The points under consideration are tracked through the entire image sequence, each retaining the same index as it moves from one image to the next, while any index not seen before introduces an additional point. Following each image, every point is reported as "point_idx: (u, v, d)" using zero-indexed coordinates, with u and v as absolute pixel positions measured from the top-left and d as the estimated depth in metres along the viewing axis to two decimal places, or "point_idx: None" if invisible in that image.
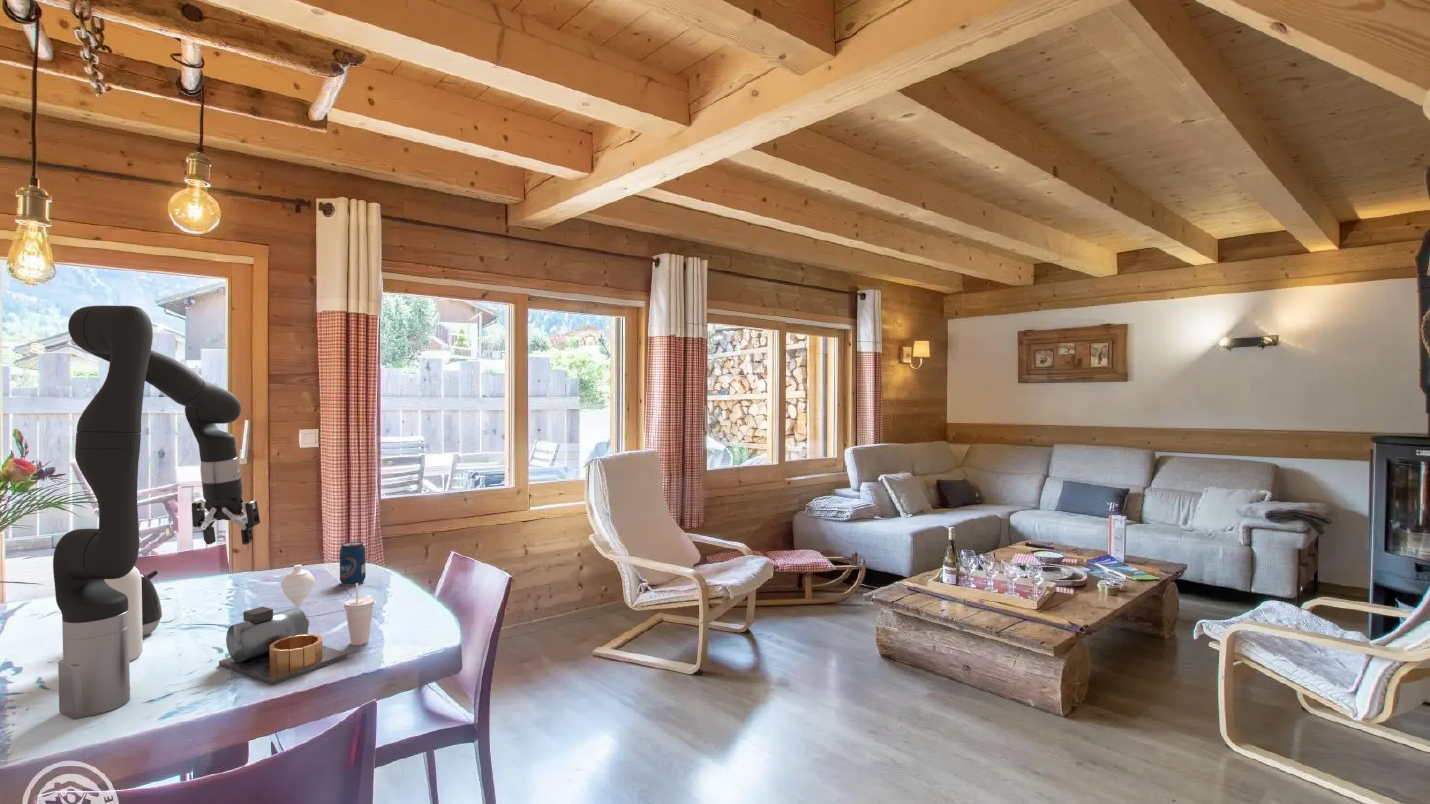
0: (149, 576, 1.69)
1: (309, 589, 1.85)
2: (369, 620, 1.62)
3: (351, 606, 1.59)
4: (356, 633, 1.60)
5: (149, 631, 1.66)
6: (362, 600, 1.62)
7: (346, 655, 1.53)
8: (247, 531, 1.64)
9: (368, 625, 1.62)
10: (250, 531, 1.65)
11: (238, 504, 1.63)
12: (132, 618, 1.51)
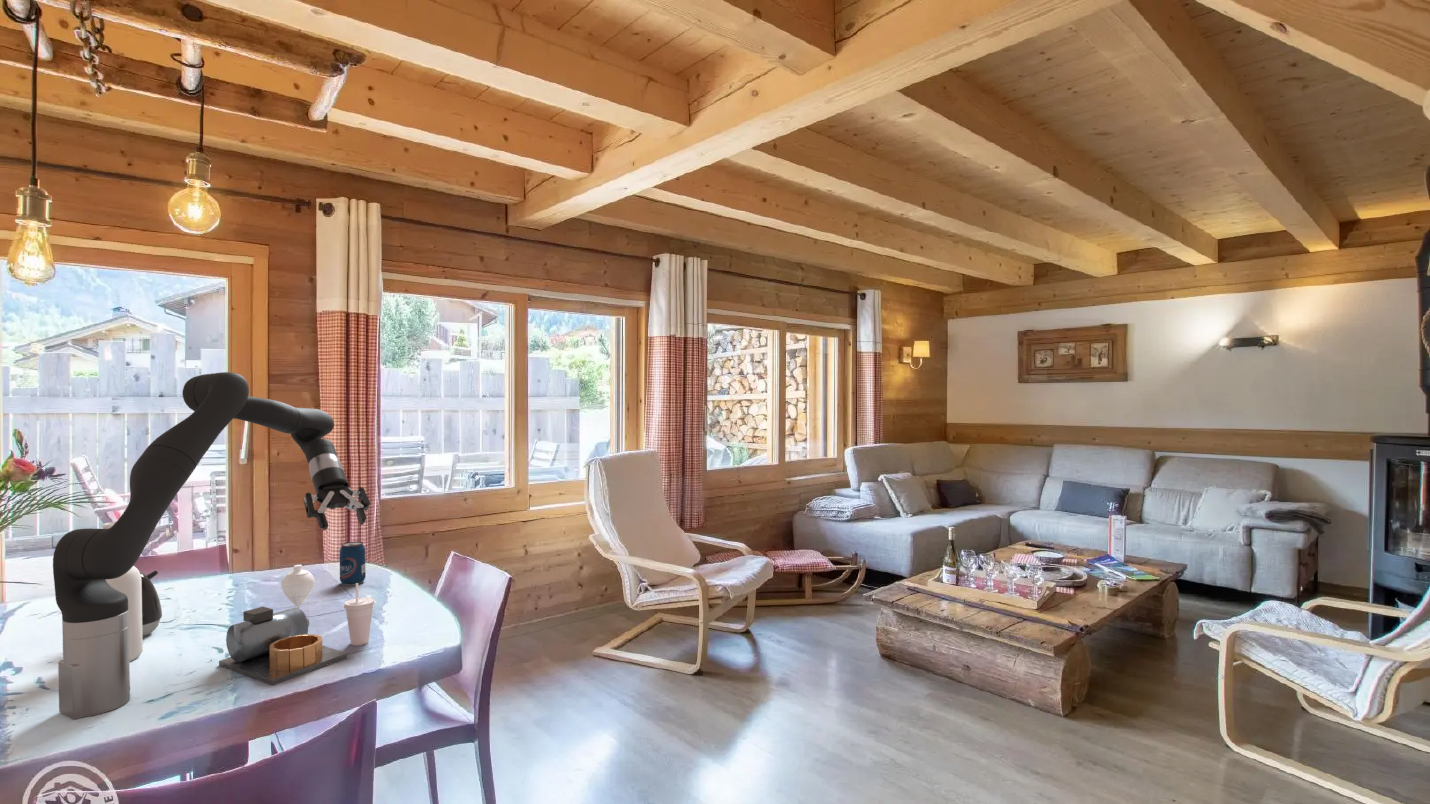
0: (149, 576, 1.69)
1: (309, 589, 1.85)
2: (369, 620, 1.62)
3: (351, 606, 1.59)
4: (356, 633, 1.60)
5: (149, 631, 1.66)
6: (362, 600, 1.62)
7: (346, 655, 1.53)
8: (363, 510, 1.78)
9: (368, 625, 1.62)
10: None
11: (351, 490, 1.80)
12: (132, 618, 1.51)
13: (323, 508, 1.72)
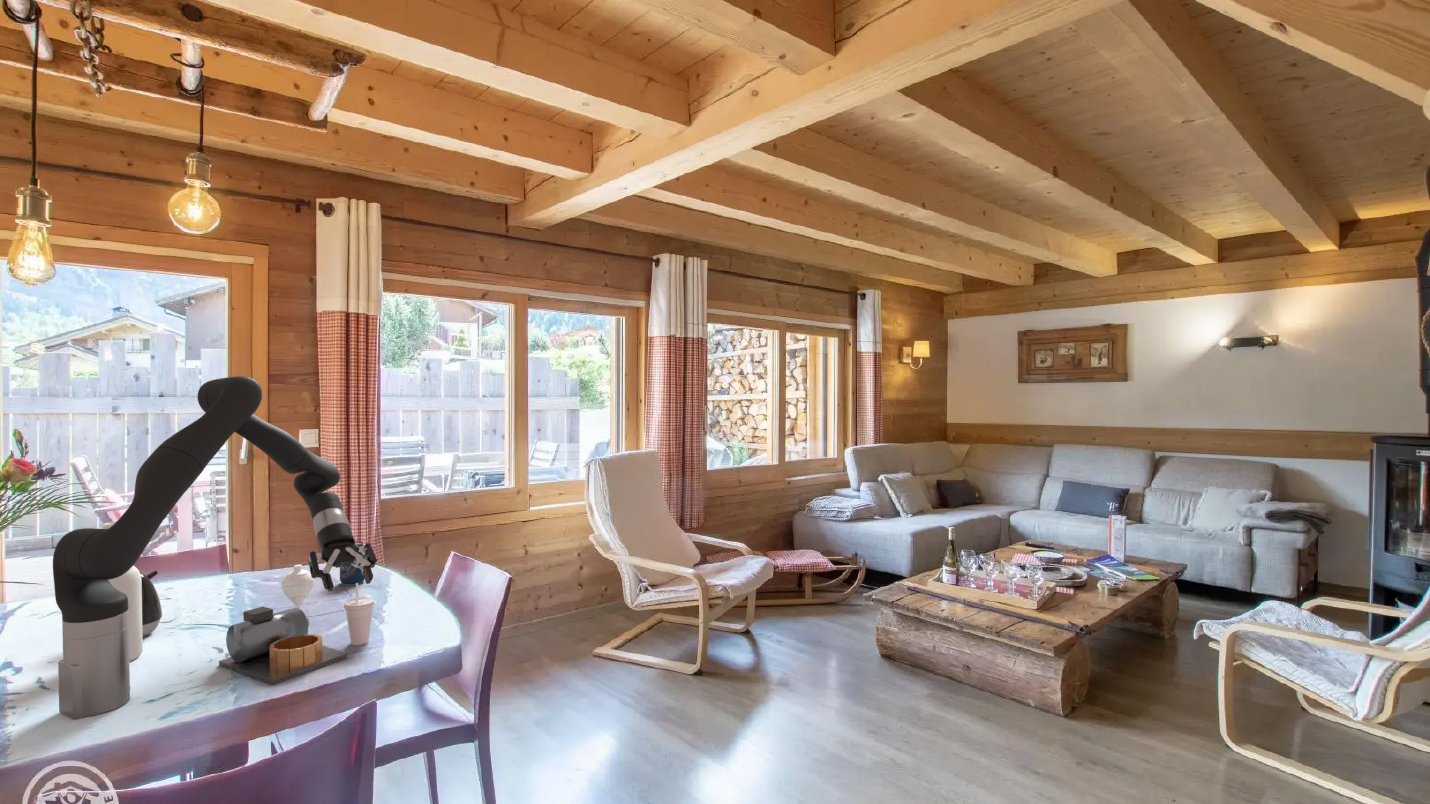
0: (149, 576, 1.69)
1: (309, 589, 1.85)
2: (369, 620, 1.62)
3: (351, 606, 1.59)
4: (356, 633, 1.60)
5: (149, 631, 1.66)
6: (362, 600, 1.62)
7: (346, 655, 1.53)
8: (370, 568, 1.71)
9: (368, 625, 1.62)
10: None
11: (357, 546, 1.73)
12: (132, 618, 1.51)
13: (328, 568, 1.65)
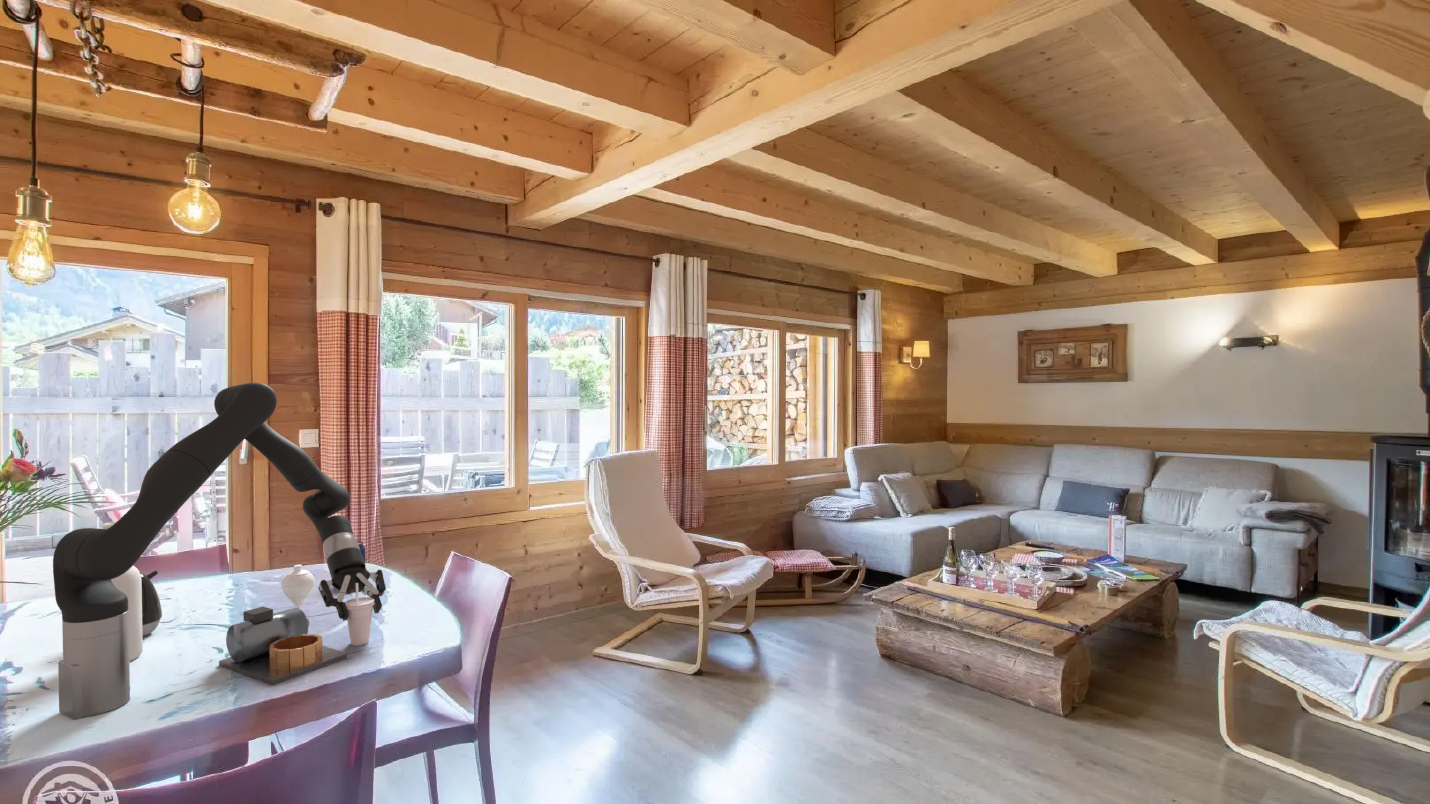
0: (149, 576, 1.69)
1: (309, 589, 1.85)
2: (369, 620, 1.62)
3: (351, 606, 1.59)
4: (356, 633, 1.60)
5: (149, 631, 1.66)
6: (362, 600, 1.62)
7: (346, 655, 1.53)
8: (378, 597, 1.66)
9: (368, 625, 1.62)
10: None
11: (368, 572, 1.68)
12: (132, 618, 1.51)
13: (342, 596, 1.61)
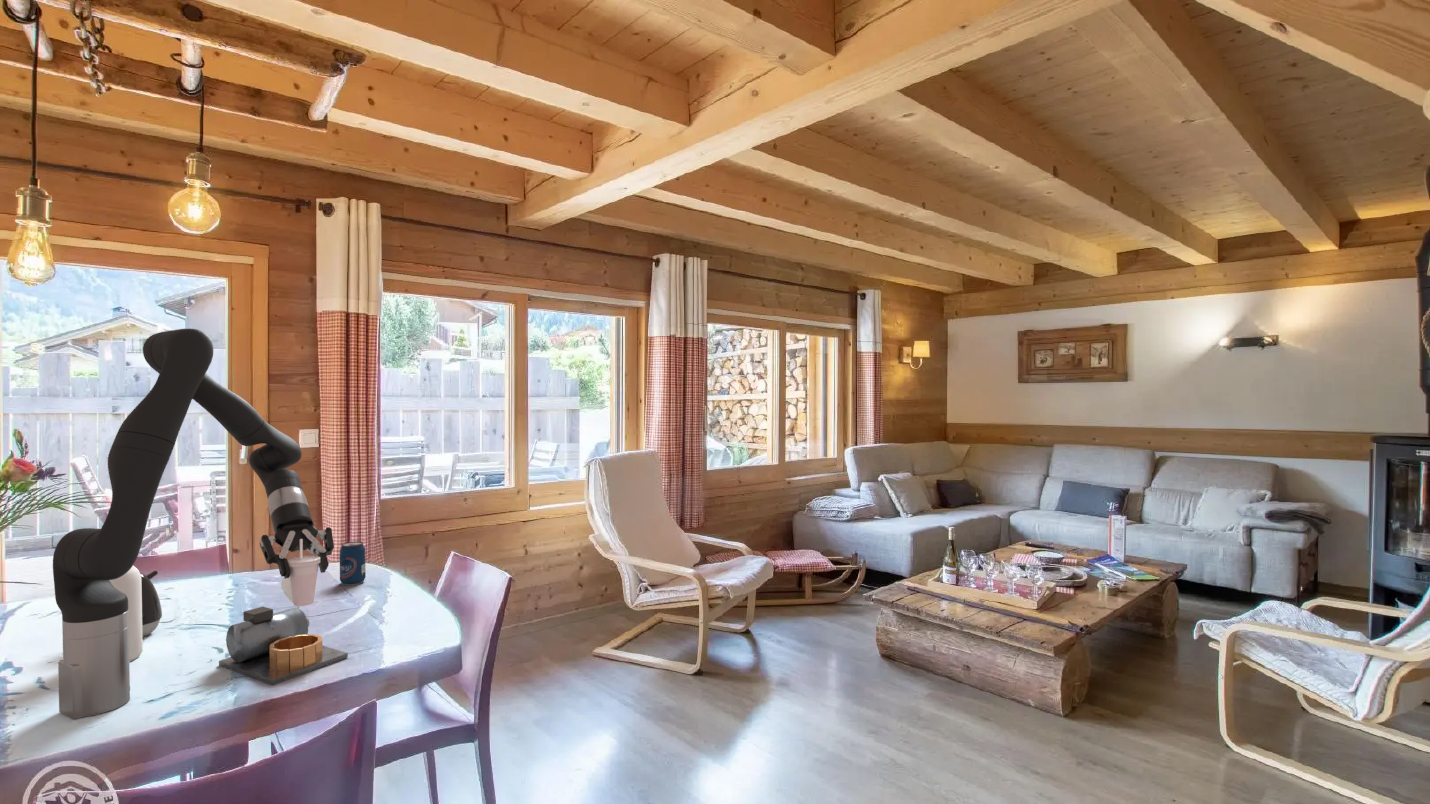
0: (149, 576, 1.69)
1: None
2: (314, 579, 1.50)
3: (293, 563, 1.47)
4: (299, 592, 1.48)
5: (149, 631, 1.66)
6: (307, 558, 1.50)
7: (346, 655, 1.53)
8: (325, 555, 1.53)
9: (313, 584, 1.50)
10: None
11: (316, 529, 1.56)
12: (132, 618, 1.51)
13: (285, 552, 1.49)
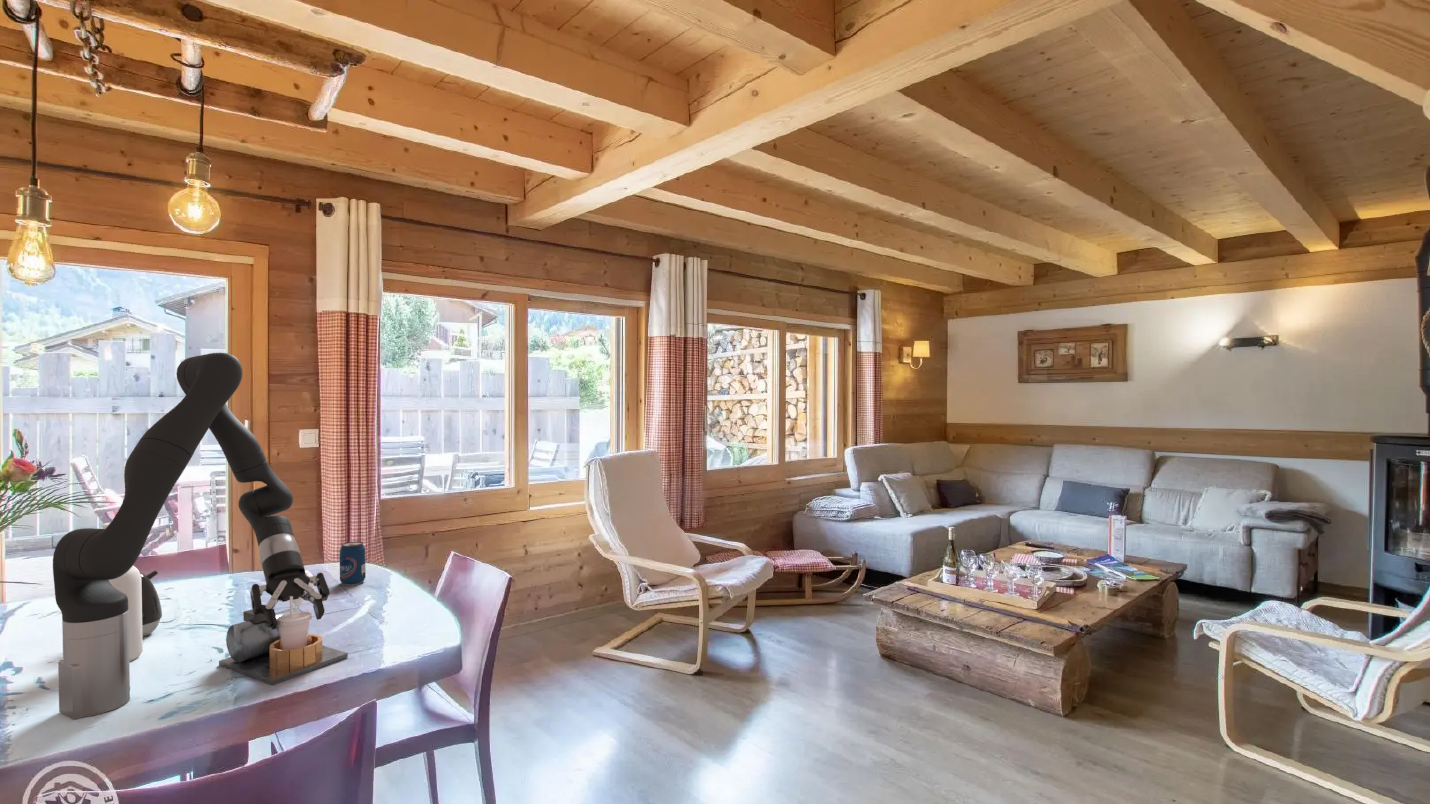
0: (149, 576, 1.69)
1: None
2: (305, 637, 1.49)
3: (284, 622, 1.46)
4: None
5: (149, 631, 1.66)
6: (297, 615, 1.49)
7: (346, 655, 1.53)
8: (321, 602, 1.53)
9: (304, 642, 1.48)
10: None
11: (308, 577, 1.55)
12: (132, 618, 1.51)
13: (272, 602, 1.47)
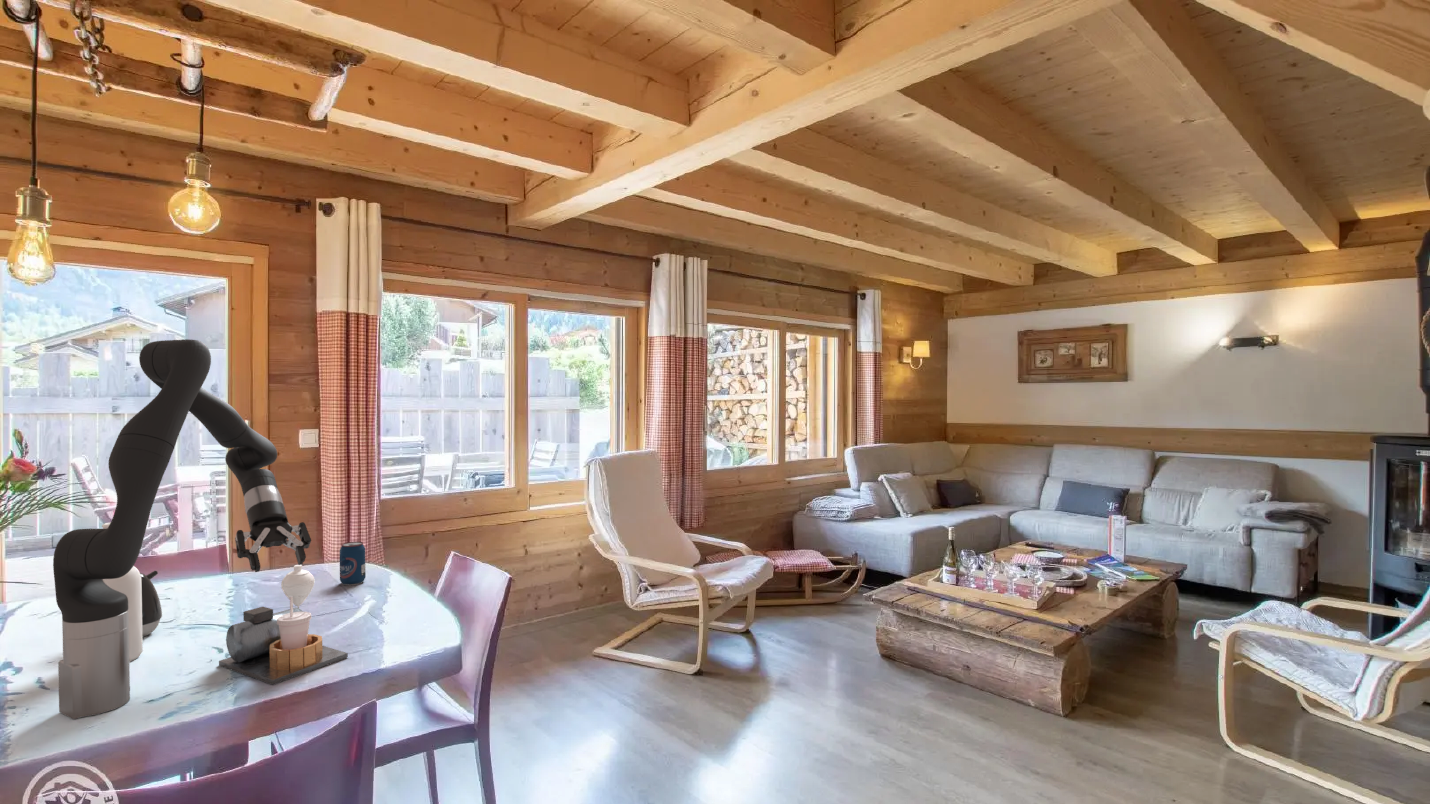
0: (149, 576, 1.69)
1: (309, 589, 1.85)
2: (305, 637, 1.49)
3: (284, 622, 1.46)
4: None
5: (149, 631, 1.66)
6: (297, 615, 1.49)
7: (346, 655, 1.53)
8: (303, 549, 1.61)
9: (304, 642, 1.48)
10: None
11: (290, 525, 1.63)
12: (132, 618, 1.51)
13: (256, 547, 1.55)
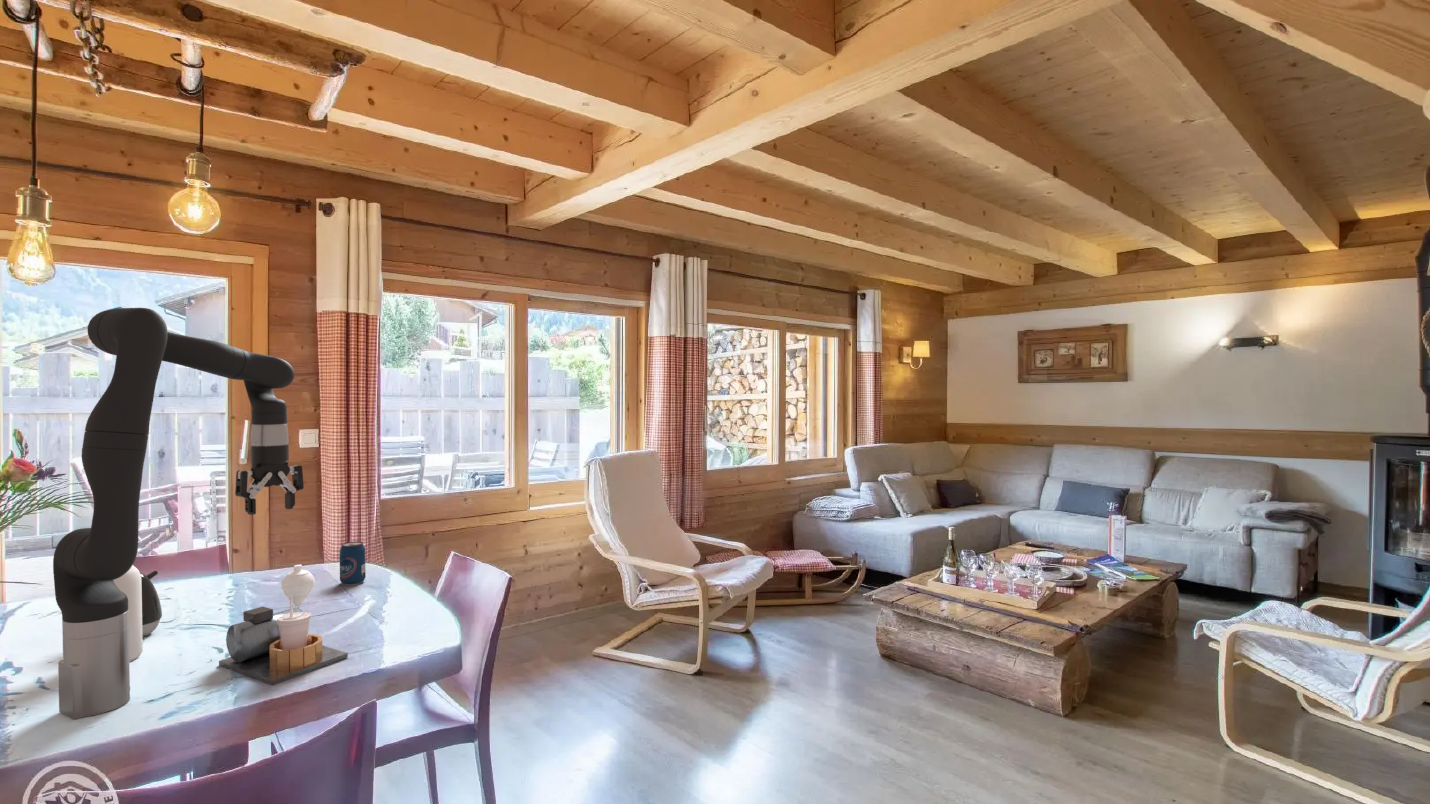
0: (149, 576, 1.69)
1: (309, 589, 1.85)
2: (305, 637, 1.49)
3: (284, 622, 1.46)
4: None
5: (149, 631, 1.66)
6: (297, 615, 1.49)
7: (346, 655, 1.53)
8: (294, 495, 1.69)
9: (304, 642, 1.48)
10: None
11: (289, 468, 1.68)
12: (132, 618, 1.51)
13: (256, 492, 1.61)
